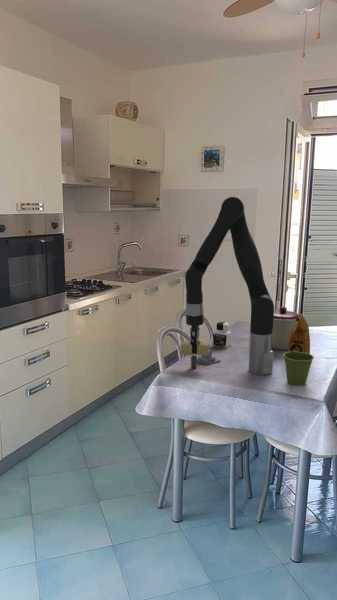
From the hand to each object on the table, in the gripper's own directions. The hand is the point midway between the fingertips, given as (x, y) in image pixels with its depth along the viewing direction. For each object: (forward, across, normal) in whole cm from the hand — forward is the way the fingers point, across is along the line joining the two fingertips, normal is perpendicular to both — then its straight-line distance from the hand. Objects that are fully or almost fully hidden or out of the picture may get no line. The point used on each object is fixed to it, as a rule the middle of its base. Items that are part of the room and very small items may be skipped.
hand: (195, 350), depth 200 cm
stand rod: (+8, 0, -1) cm, 8 cm away
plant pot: (+9, +11, +42) cm, 44 cm away
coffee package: (+9, -13, +45) cm, 48 cm away
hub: (+8, -11, +4) cm, 14 cm away
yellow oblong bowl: (+1, 0, 0) cm, 1 cm away
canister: (+9, -38, +40) cm, 56 cm away
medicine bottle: (+8, -37, +11) cm, 39 cm away
